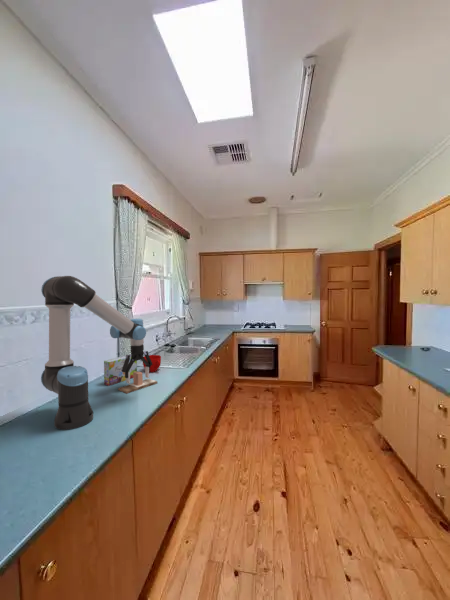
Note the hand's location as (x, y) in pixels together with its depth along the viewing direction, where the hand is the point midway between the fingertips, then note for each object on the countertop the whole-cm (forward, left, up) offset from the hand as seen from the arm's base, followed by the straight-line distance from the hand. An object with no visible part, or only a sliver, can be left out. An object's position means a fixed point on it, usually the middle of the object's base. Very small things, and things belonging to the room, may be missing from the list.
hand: (137, 380), depth 163 cm
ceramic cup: (+25, +18, -4) cm, 31 cm away
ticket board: (0, 0, -4) cm, 4 cm away
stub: (0, 0, -3) cm, 3 cm away
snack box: (0, +19, -4) cm, 19 cm away
